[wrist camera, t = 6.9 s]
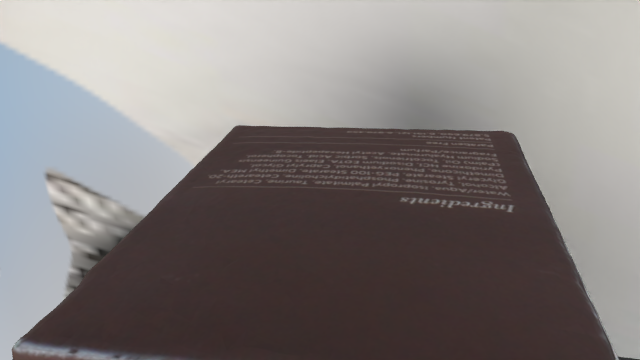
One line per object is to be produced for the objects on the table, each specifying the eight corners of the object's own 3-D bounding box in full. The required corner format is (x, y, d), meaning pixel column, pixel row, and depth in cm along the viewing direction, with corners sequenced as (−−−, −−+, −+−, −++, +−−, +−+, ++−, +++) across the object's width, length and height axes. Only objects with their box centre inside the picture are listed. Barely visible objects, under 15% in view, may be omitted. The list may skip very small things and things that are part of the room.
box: (234, 115, 12) (-11, 332, 5) (521, 125, 11) (672, 412, 4) (253, 337, 14) (103, 678, 8) (489, 362, 13) (552, 781, 7)
